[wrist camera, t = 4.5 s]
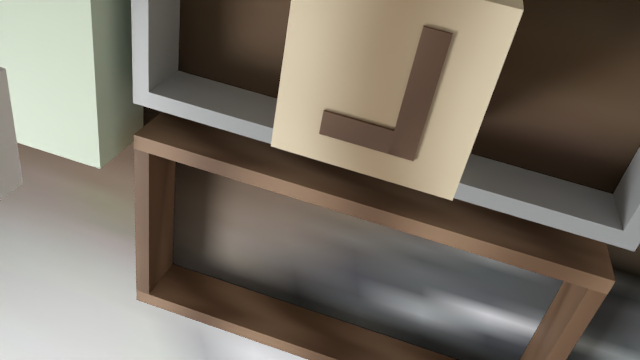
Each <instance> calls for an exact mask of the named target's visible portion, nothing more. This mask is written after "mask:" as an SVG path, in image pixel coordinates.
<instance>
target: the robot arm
mask: <svg viewBox="0 0 640 360" xmlns="http://www.w3.org/2000/svg"><path fill="white" fill-rule="evenodd" d="M22 184H23V179H22V172H21V165H20V159H19V152H18V146H17V139H16V133H15V126H14V119H13V113H12V106H11V100H10V93H9V87H8V80H7V73H6V69H5V68H2V67H0V201H1V200H2V199H3V198H5V197H6V196H7V195H9V194H10V193H12V192H13V191H14V190H16V189H17V188H18V187H20V186H21V185H22Z"/></svg>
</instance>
